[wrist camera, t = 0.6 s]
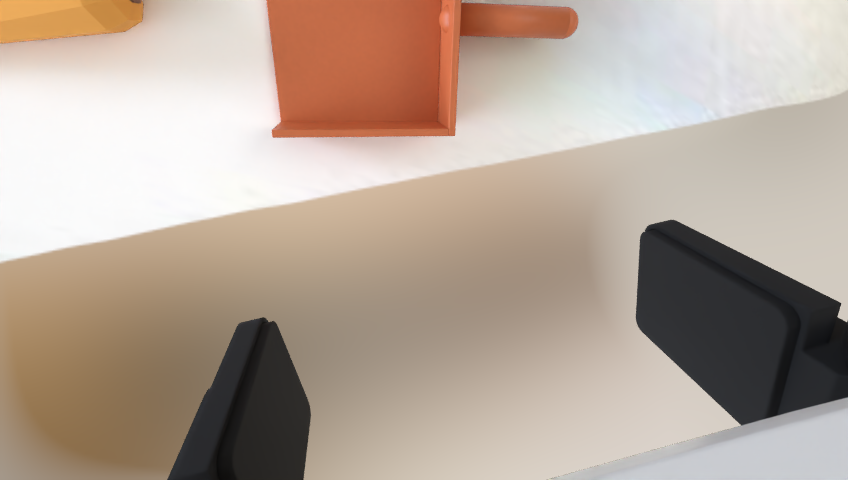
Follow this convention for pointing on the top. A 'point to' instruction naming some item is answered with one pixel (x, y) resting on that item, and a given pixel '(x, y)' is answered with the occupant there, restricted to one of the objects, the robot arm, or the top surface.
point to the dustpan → (385, 61)
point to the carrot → (65, 18)
